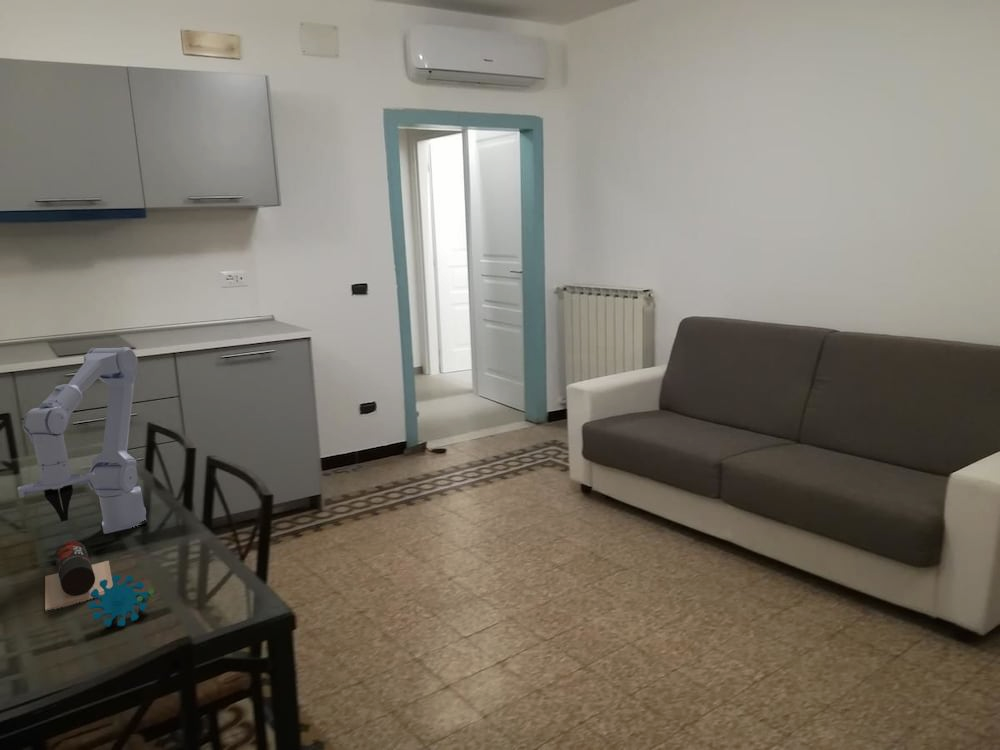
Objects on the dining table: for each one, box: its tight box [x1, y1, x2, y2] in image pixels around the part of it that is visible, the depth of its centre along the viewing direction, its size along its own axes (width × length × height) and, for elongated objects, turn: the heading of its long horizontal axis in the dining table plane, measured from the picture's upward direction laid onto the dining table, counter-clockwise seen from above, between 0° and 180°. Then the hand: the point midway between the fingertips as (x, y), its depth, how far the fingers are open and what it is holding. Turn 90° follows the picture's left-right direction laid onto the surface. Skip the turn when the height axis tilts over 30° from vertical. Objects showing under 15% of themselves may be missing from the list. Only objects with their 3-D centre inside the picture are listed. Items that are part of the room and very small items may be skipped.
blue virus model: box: [88, 574, 155, 628], centre depth 140 cm, size 11×6×10 cm
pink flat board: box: [44, 560, 113, 612], centre depth 152 cm, size 12×16×1 cm
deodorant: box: [54, 540, 95, 596], centre depth 153 cm, size 6×6×15 cm
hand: (64, 519), depth 163 cm, fingers closed
